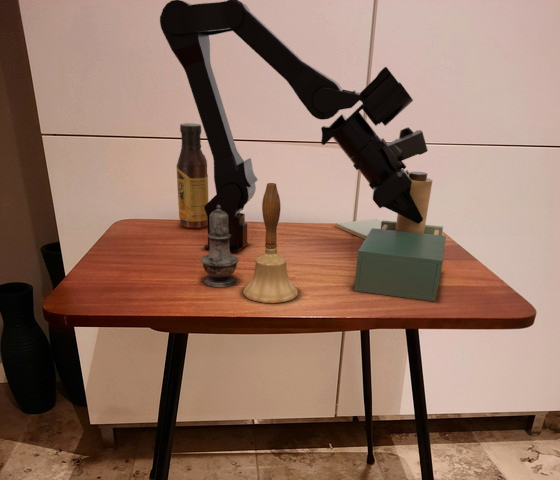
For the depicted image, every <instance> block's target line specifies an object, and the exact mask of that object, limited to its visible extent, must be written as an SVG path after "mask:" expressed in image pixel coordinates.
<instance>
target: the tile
mask: <svg viewBox="0 0 560 480" xmlns="http://www.w3.org/2000/svg"><path fill="white" fill-rule="evenodd" d="M381 222H382V220H381V219H377V218H373V219H365V220H354V221H346V222H337V223H336V224H335V227H336V228H338V229H340V230H342V231H345V232H347V233H349V234H351V235H354V236H356V237H358V238H361V239H363V240H365V239H366V237H367V236H368V234H369V232H370V231H371V229H372V228H375V229H381Z"/></svg>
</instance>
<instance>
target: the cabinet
mask: <svg viewBox="0 0 560 480" xmlns="http://www.w3.org/2000/svg"><path fill="white" fill-rule="evenodd" d="M446 238H447V236H446V235H442V236H441V235H431V234H422V233H412V232H403V231H393V230H384V229H375V228H372V229H371V231H370V232H369V234H368V236H367V237H366V239H364V240H363V242H362V243H361V245H360V247H359V249H358V251H357V260H356V268H355V276H354V287H353V291H354V292H361V293H366V294H367V293H368V294H374V295H382V296H390V297H397V298H404V299H412V300H420V301H426V302H427V301H428V302H433V303H434V302H435V303H436V301H437V296H438V290H439V284H440V279H441V273H442V269H443V264H444V256H445V247H446Z"/></svg>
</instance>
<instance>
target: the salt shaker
mask: <svg viewBox="0 0 560 480" xmlns="http://www.w3.org/2000/svg"><path fill="white" fill-rule="evenodd" d="M220 208H221V207H220V205H219V204H218V205H217V210H215V211H213V212H211V213H210V215H209V225H210V233H209V234H208V233H207V234H206V236H207V238H208V237H209V242H210V249H209V250H208V254H207V255H204V256H202V257H201V259H200V262H201V263H202V267H203V270H204V272H205V273H207V274H208V275H207V276H206V277H205V278H203V280H202V281H203V284H204V285H206V286H209V287H213V288H228V287H232V286H234V285H237V283H238V280H237V278H235V277H234V276H232V275H233V274H234V273H235V271H236V269H237V266H238V263H239V257H237V256H236V255H233V254H231V253H232V252H230V249H229V238H230V237H231V234H229V219H228V214H227V213H226V212H224V211H222V210H221V209H220Z"/></svg>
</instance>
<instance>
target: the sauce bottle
mask: <svg viewBox="0 0 560 480" xmlns="http://www.w3.org/2000/svg"><path fill="white" fill-rule="evenodd" d="M179 132H180V135H181V137H180V138H181V145H180V146H181V149H180V152H179V156H178V159H177V164H176V183H177V202H178V204H177V205H178V218H179V224H180V225H181V227H183V228H185V229H204V228H206V227H208V226H207V214H206V212H205V209H204V206H205V205H206V204H207V203H208V202H209V175H208V174H209V173H208V160H207V157H206V155H205V154H204V153H203V150H202V149H201V148H202V143H201V142H202V140H201V135H202V125H201V124H200V123H193V122H191V123H190V122H186V123H181V124H180V125H179Z"/></svg>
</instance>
